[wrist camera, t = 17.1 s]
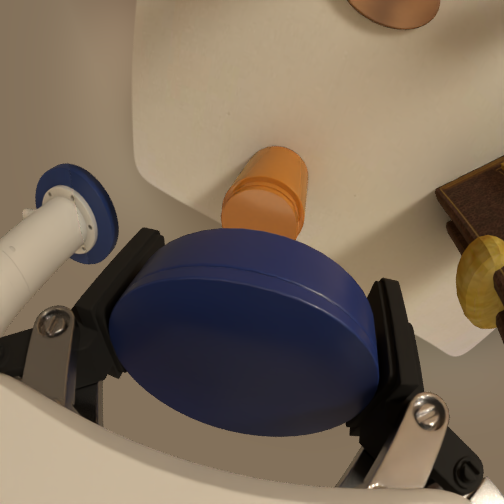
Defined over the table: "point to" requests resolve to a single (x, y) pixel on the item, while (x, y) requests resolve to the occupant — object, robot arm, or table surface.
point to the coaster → (398, 12)
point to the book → (478, 241)
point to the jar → (268, 194)
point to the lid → (249, 333)
